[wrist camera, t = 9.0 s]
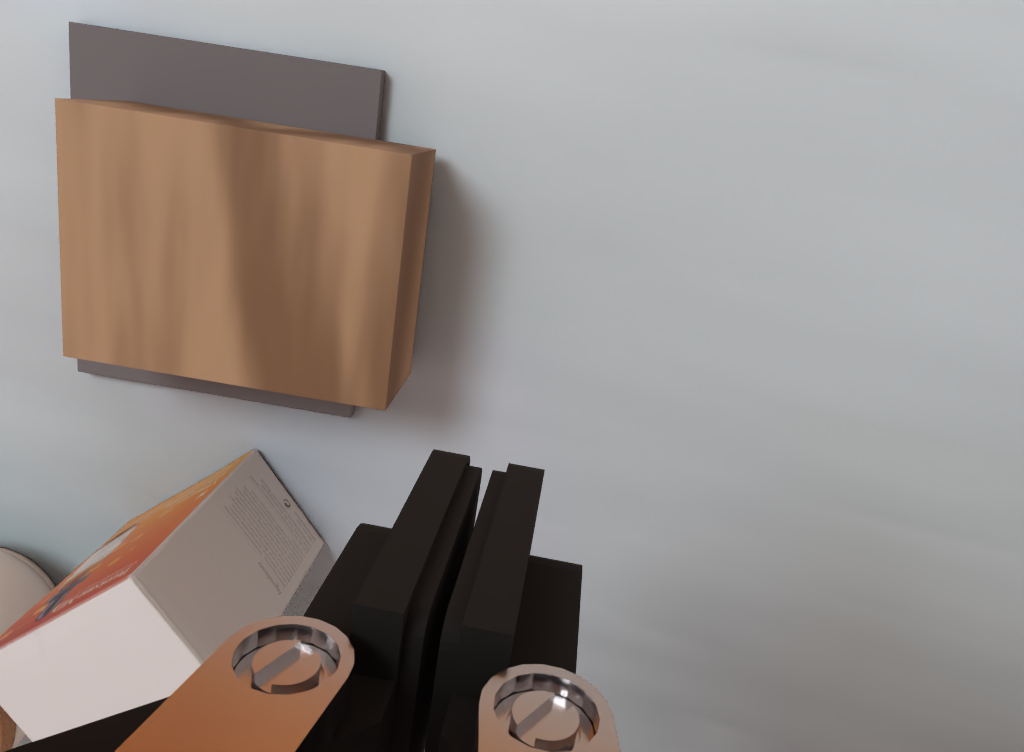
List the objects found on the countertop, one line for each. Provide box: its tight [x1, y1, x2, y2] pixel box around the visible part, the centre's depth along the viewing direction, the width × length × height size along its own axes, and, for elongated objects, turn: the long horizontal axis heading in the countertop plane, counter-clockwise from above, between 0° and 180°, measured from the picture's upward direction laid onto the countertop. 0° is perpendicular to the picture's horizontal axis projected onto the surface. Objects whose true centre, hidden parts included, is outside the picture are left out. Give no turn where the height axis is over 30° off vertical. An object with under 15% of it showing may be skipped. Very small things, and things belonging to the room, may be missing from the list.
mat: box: [69, 22, 385, 418], centre depth 33 cm, size 12×14×1 cm
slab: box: [55, 98, 436, 411], centre depth 30 cm, size 5×9×12 cm
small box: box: [0, 449, 324, 742], centre depth 32 cm, size 8×6×10 cm
